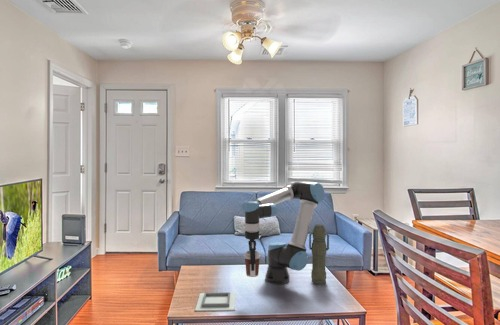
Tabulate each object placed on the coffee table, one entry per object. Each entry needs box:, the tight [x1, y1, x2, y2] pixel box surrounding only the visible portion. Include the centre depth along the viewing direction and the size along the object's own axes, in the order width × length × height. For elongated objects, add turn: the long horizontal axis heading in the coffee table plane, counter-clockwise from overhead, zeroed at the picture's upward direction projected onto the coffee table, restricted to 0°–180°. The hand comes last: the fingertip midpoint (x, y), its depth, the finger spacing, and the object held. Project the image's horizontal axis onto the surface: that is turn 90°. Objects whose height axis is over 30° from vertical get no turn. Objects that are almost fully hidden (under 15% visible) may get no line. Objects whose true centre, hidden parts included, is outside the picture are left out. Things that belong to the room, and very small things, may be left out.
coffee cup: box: [243, 250, 262, 278], centre depth 168 cm, size 9×9×12 cm
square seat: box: [194, 291, 237, 312], centre depth 168 cm, size 20×20×2 cm
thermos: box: [308, 224, 330, 286], centre depth 195 cm, size 9×12×35 cm
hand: (252, 272), depth 168 cm, fingers closed on coffee cup, 9 cm apart
